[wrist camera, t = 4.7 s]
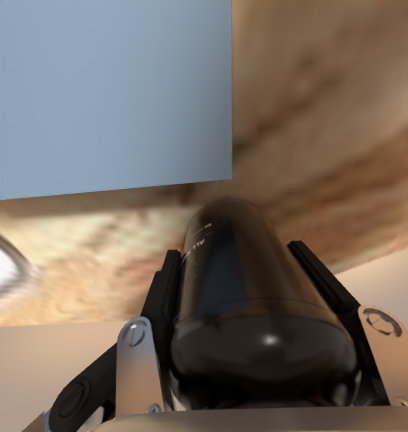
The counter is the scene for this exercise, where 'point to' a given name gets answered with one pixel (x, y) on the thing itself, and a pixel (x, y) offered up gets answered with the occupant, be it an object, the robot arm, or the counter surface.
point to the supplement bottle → (253, 321)
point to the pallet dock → (113, 94)
